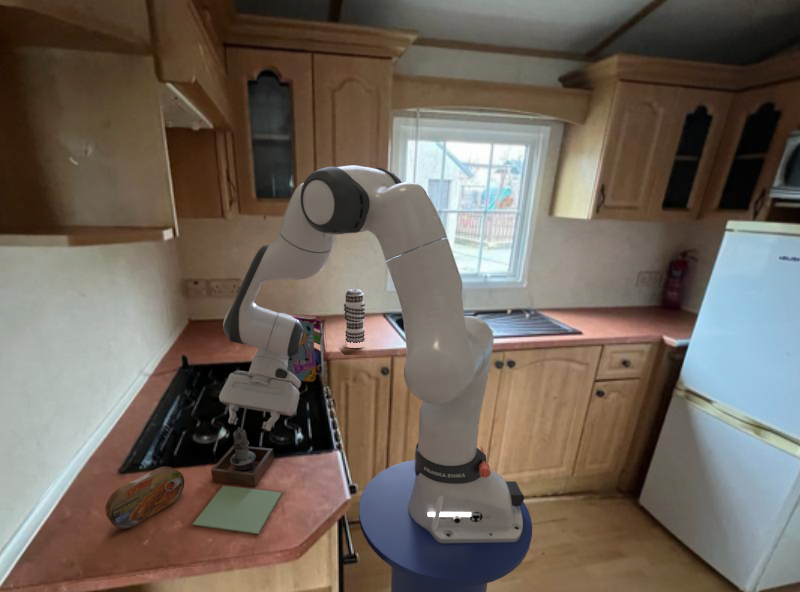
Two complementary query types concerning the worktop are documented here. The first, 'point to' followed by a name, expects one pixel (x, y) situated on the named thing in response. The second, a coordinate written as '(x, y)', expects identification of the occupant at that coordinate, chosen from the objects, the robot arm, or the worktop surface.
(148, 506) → the tin
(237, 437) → the grey chess piece
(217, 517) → the mat
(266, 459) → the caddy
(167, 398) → the worktop surface
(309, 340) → the box
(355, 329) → the decorative candle
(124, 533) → the worktop surface
